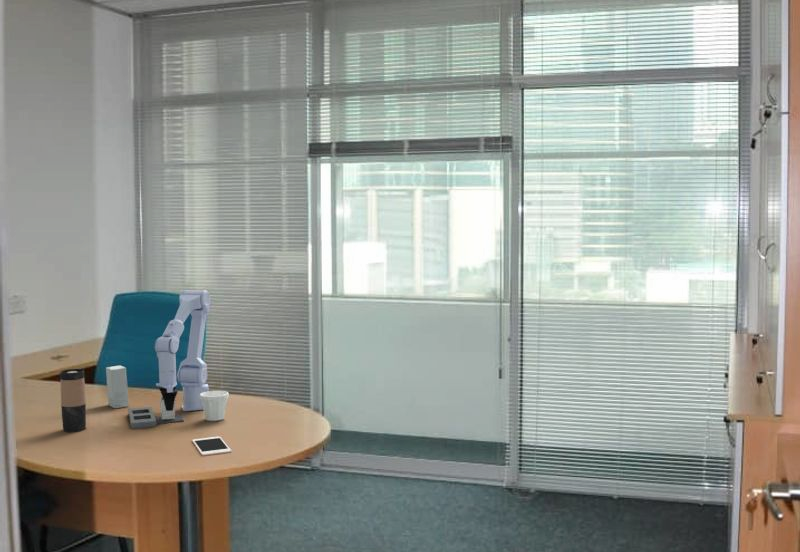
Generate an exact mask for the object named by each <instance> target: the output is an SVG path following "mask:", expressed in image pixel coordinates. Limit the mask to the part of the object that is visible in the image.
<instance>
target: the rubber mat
mask: <svg viewBox="0 0 800 552" xmlns="http://www.w3.org/2000/svg"><path fill="white" fill-rule="evenodd" d="M155 419H156V425H159V424H160V425H161V424H170V423H173V424H174V423H181V422H184V418H183V416H182V414H175V419H165V420H162V419H161V415H160V416H155Z"/></svg>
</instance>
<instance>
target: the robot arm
mask: <svg viewBox="0 0 800 552" xmlns="http://www.w3.org/2000/svg"><path fill="white" fill-rule="evenodd" d="M178 299H179V306H178V309H177V311H176V314H175V316H174V319H172V320H171V319H170V321H168V324H167V326H166V328H165V330H164V331H163V333H162V336H160V337H158V338H157V339H156V340H155V343H154V350H155V352H156V357H157V358H158V377H159V382H158V383H155V386H156V387H158V389H159V391H160V394H161V397H163V398H164V402H165V407H166V410H167V411H173V407H174V401H175V398H176V397H177V395H178V393H179V392H178V390H176V388H177V387H176V386H178V383H180V386H182V405H181V409H182V411H183V412H191V411H192V412H193V411H199V410H203V406H202V402H201V399H200V394H201V393H203V392H208V391H210V388H209V384H208V383H206V382H207V380H208V364H207V363H206V362H204V360H203V359H202V354H203V353H202V352H203V345H204V336H205V328H206V320H207V314H209V313H210V307H211V299H212V298H211V295H210V293H209V291H208V290H206V289H203V290H198V289H197V290H193V289H191V290H190V289H183V290H182V291H181V293H180V294H179V297H178ZM189 316H191V321H190V322H191V323H190V331H189V339H188V345H187V353H186V354H187V355H186V358H185V359H183V360H182V361H181V362H180V364H179V368H178V370H177V365H176V364H177V361H176V359H177V358H176V353H177V352H178V350H179V347H180V345H179V344H180V338H181V336H182V334H183V332H184V330H185V321H186V320H187V319H188V317H189ZM177 381H178V382H177ZM175 402H176V401H175ZM203 411H204V410H203Z"/></svg>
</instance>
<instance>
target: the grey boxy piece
mask: <svg viewBox="0 0 800 552" xmlns="http://www.w3.org/2000/svg"><path fill="white" fill-rule="evenodd" d="M159 401H160V416H161V419H162V420H165V419H175V415H176V402H177V398H176V397H175V401H174V407H173V411H167V410H166V407H165V402H164V398H163V396H159Z"/></svg>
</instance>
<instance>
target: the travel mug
mask: <svg viewBox="0 0 800 552" xmlns="http://www.w3.org/2000/svg"><path fill="white" fill-rule="evenodd" d="M59 374H60V375H59V376H60V380H59V381H60V407H61V420H62V429H63V432H65V433H78V432H82V431H85V430H86V429H87V427H86V425H87V424H86V423H87V420H86V419H87V418H86V416H87V413H86V412H87V409H86V408H87V407H86V405H87V404H86V403H87V402H86V384H85V383H86V382H85V370H84V369H82V368H72V369H64V370H61V371H60V372H59Z"/></svg>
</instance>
